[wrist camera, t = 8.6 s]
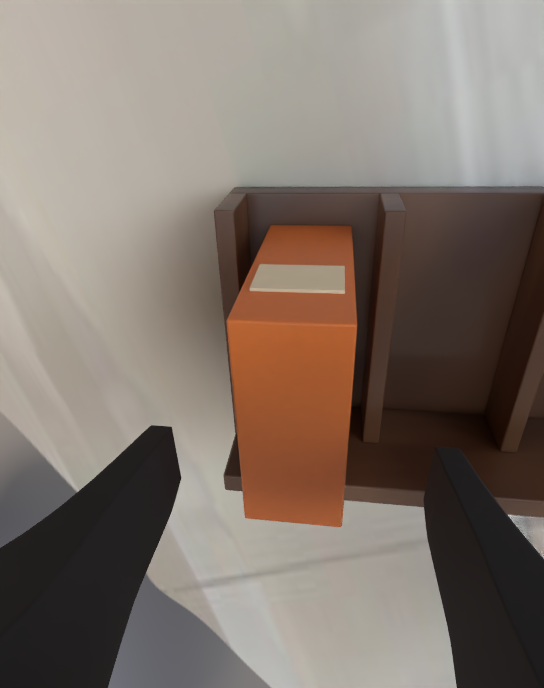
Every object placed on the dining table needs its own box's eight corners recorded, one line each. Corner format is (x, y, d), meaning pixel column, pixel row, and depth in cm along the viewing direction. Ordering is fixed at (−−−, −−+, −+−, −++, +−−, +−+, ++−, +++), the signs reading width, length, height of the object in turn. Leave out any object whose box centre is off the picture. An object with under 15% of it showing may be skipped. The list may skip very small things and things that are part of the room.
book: (352, 222, 17) (358, 321, 11) (342, 382, 21) (341, 528, 15) (269, 221, 18) (225, 316, 11) (275, 378, 22) (244, 519, 15)
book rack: (727, 186, 16) (905, 241, 11) (614, 423, 22) (697, 531, 17) (234, 187, 18) (192, 233, 13) (249, 401, 24) (224, 490, 19)
